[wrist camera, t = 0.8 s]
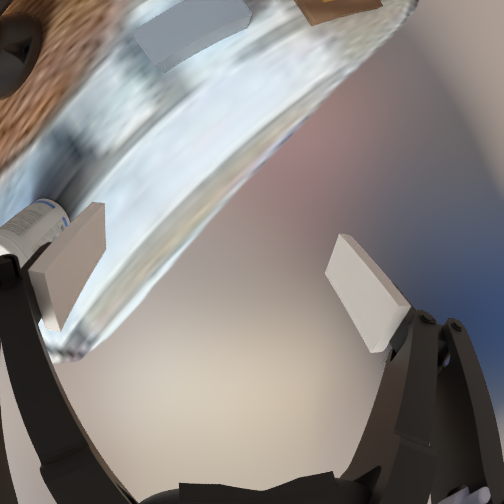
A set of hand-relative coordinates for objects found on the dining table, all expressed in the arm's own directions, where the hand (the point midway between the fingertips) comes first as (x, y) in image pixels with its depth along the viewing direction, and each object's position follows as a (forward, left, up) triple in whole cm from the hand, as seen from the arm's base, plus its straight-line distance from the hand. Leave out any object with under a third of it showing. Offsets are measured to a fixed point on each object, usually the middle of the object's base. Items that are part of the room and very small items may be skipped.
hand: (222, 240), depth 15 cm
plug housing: (-17, +6, -23) cm, 30 cm away
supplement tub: (-8, -28, -24) cm, 37 cm away
